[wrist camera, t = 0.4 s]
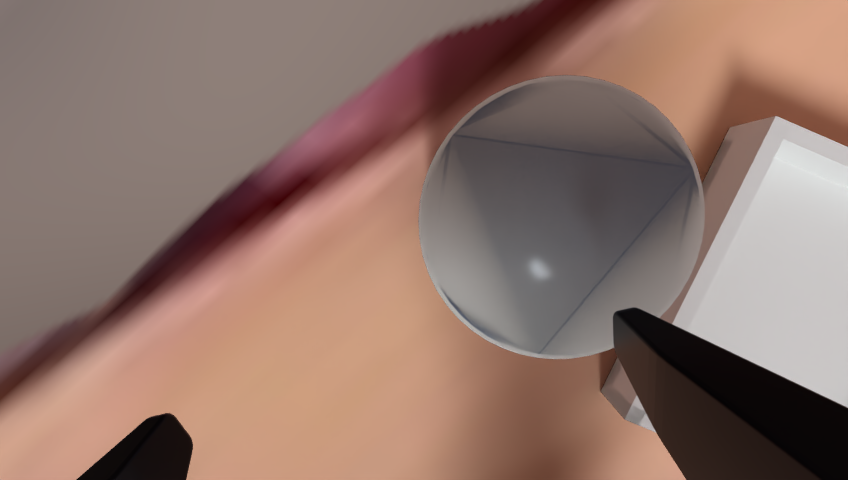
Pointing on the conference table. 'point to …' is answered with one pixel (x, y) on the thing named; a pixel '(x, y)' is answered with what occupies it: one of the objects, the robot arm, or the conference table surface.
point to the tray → (769, 261)
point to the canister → (560, 215)
